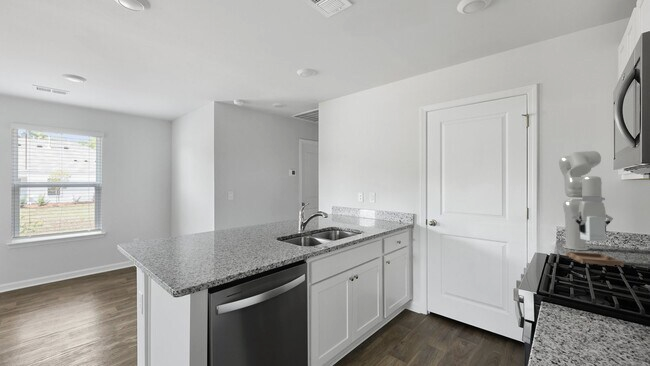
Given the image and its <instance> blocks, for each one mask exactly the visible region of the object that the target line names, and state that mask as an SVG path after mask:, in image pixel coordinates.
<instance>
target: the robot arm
mask: <svg viewBox="0 0 650 366" xmlns="http://www.w3.org/2000/svg"><path fill="white" fill-rule="evenodd" d="M601 156H602V155H601V154H600V153H599V152H598V151H596V150H592V151H591V150H590V151H588V150H587V151H575V152H572V153H571V154H569V155H565V156H563V157H560V159H559V161H558V165H559V169H560V172H561V174H562V175H563V176H562V177H563V180H564V190H565V191H564V192H565V195H566V197H569V198H571V199H566V200H564V201H563V203H562V204H563V212H564V221H565V223H564V224H565V225H564V226H565V244H563V245H562V248H564V249H568V250H575V251H589V250H590V248H589V247H587V246H586V240H583V239H580V232H582V233H584V232H585V226H584V225H583V224H584V223H585V221H586V219H587V217H605V233H607V226H608V225H609V224H610V223H611V222H612V221H613V220H614V218H613V217H612V216H610V215H609V214H606V207H605V204H604V202H603V201H605V200H606V197H604V196H602V193H603V192H602V191H603V190H602V183H603V182H602V178H601V177H600V176H597V175H596V176H589V175H588V176H586V175H587V174H590V172H591V171H592V169H594V168H595V167H597V166H598V165H600V164H601V161H602V157H601ZM579 198H581V199H579ZM580 216H581V217H582V219H580Z"/></svg>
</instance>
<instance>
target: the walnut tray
mask: <svg viewBox="0 0 650 366" xmlns="http://www.w3.org/2000/svg"><path fill="white" fill-rule="evenodd" d="M565 256H566V257H567V256H569V257H568V258H570V257H571V258H570V259H572V260H574V261H577V262H578V263H580V264H582V265H586V264H585V263H586V262H588V263H589V264H588V265H593V264H598V266H606V265H607V266H608V267H616V266H615V265H620V266H621V267H620V268H623V267H624V266H625V264H624V261H623V260H621V259H618V258H614V257H612V256H609V255H607V254H605V253H604V254H603V253H592V252H579V251H566V255H565Z"/></svg>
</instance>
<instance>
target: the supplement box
mask: <svg viewBox="0 0 650 366" xmlns="http://www.w3.org/2000/svg"><path fill="white" fill-rule="evenodd" d="M580 219H582V217H581V216H580ZM605 221H606V220H605V217H587V219H586V221H585V223H584V224H583V225H584V226H585V232H584V233H582V232H580V239H583V240H585V241H588V242H602V243H603V242H606V241H607V240H606V239H607V238H606V232H605Z"/></svg>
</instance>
